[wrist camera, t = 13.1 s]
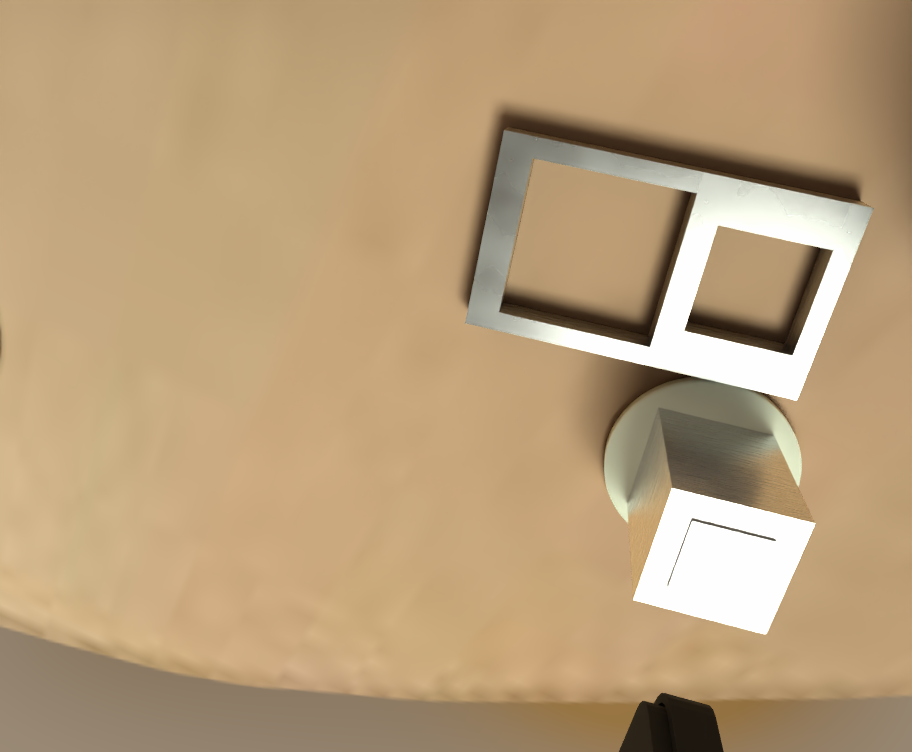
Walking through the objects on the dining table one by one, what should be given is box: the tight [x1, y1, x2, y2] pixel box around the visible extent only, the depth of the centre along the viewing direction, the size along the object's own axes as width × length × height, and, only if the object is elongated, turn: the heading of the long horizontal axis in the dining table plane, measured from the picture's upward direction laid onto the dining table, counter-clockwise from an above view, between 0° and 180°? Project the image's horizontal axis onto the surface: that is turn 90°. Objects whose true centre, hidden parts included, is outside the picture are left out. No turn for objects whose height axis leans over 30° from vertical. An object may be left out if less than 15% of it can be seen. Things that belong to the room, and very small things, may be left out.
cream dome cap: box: [604, 377, 802, 523], centre depth 35 cm, size 8×8×1 cm
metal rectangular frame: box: [465, 127, 874, 400], centre depth 32 cm, size 14×8×2 cm, turn 79°
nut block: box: [627, 407, 815, 634], centre depth 32 cm, size 5×5×7 cm
